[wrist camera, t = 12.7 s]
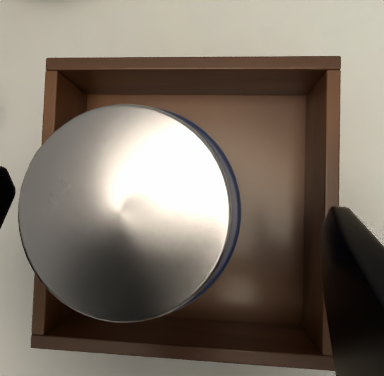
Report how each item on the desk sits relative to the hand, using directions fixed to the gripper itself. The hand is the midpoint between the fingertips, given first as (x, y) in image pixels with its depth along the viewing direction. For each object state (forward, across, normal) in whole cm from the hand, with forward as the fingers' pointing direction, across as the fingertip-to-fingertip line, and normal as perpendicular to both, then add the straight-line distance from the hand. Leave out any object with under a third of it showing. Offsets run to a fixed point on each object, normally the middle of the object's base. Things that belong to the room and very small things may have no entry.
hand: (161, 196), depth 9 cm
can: (+6, 0, +6) cm, 9 cm away
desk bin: (+6, 0, +7) cm, 9 cm away
